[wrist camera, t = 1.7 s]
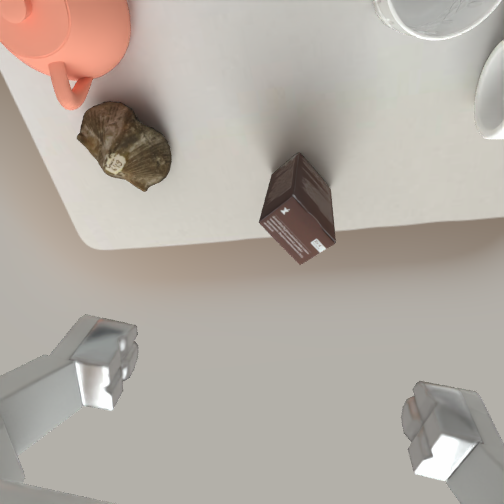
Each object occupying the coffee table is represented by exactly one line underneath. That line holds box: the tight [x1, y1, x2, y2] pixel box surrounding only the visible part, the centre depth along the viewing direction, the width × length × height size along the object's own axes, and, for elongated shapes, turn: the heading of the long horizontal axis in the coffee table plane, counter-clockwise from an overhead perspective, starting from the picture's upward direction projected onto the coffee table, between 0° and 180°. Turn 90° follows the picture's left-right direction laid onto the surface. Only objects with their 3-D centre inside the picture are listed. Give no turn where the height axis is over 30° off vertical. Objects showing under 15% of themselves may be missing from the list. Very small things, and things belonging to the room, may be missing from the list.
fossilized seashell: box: [77, 101, 172, 192], centre depth 39 cm, size 8×7×10 cm
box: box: [259, 152, 336, 265], centre depth 36 cm, size 6×4×12 cm
